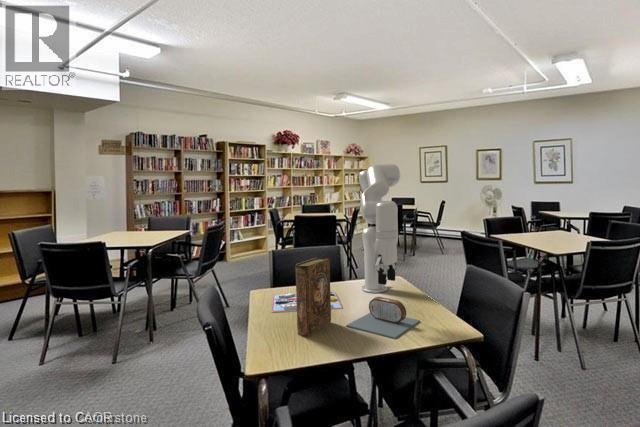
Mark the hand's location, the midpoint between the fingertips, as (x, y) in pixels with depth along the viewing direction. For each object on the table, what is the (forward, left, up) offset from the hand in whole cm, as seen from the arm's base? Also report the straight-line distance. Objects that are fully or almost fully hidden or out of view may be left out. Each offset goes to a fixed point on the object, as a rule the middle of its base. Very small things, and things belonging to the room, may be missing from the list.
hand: (386, 281), depth 143 cm
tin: (0, 0, -15) cm, 15 cm away
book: (+21, -19, -16) cm, 32 cm away
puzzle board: (-1, -42, -16) cm, 45 cm away
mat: (+3, 0, -16) cm, 16 cm away
